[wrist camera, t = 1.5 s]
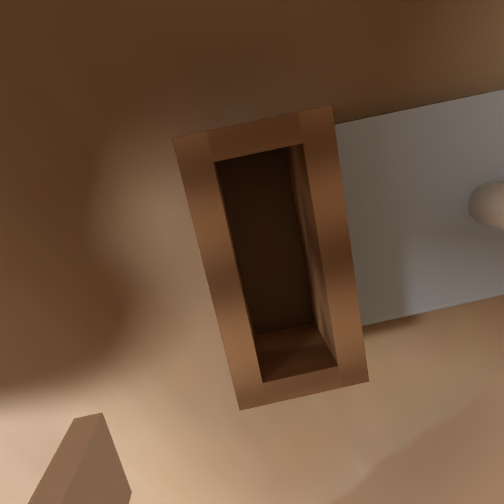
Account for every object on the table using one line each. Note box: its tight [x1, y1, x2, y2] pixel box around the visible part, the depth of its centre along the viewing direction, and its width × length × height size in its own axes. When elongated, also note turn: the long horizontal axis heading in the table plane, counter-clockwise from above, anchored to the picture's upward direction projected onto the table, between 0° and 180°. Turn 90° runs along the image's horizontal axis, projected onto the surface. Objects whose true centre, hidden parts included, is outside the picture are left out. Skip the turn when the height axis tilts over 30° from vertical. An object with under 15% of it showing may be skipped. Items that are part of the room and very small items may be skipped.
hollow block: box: [172, 105, 369, 410], centre depth 24 cm, size 16×8×6 cm, turn 12°
